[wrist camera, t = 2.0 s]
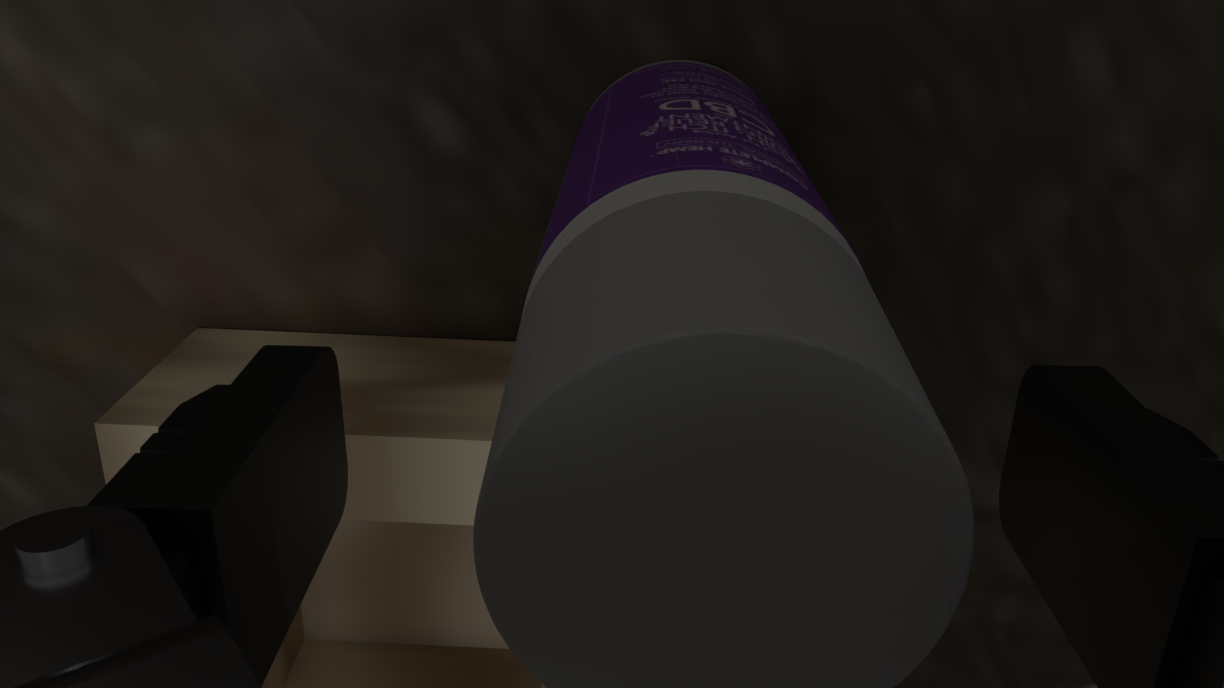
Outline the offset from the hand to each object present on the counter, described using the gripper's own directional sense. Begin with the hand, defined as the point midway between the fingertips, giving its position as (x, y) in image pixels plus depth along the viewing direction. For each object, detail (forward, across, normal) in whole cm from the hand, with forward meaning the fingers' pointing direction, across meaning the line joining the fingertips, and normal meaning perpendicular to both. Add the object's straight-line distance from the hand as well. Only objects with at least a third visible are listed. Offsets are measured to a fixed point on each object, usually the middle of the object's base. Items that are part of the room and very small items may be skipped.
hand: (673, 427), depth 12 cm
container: (+12, -1, 0) cm, 12 cm away
